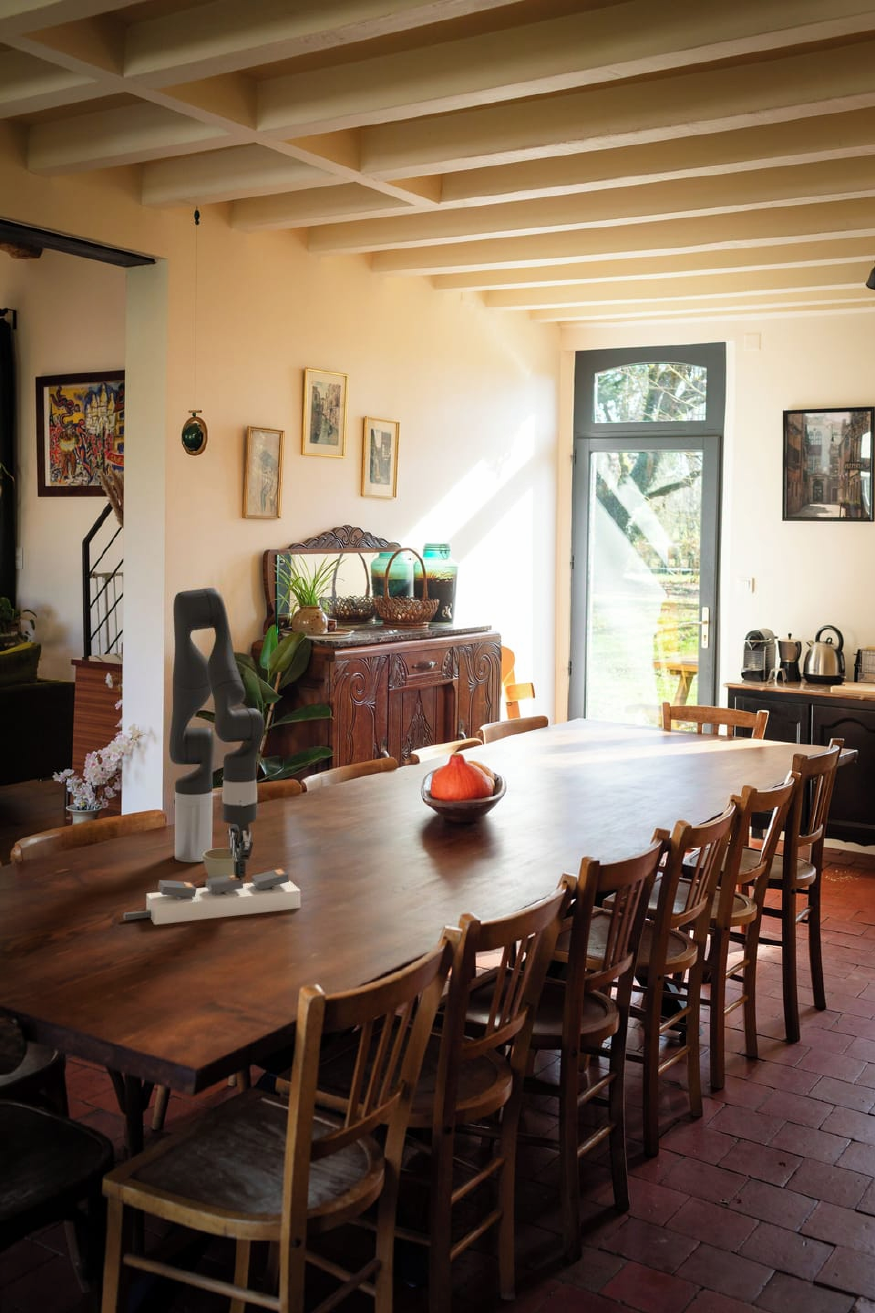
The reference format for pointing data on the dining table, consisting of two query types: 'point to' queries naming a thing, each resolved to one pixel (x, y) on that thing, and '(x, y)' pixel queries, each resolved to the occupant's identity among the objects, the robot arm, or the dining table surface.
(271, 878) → the block
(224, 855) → the flower pot
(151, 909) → the power strip
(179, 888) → the rocker
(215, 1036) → the dining table surface
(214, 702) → the robot arm
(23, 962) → the dining table surface
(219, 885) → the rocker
